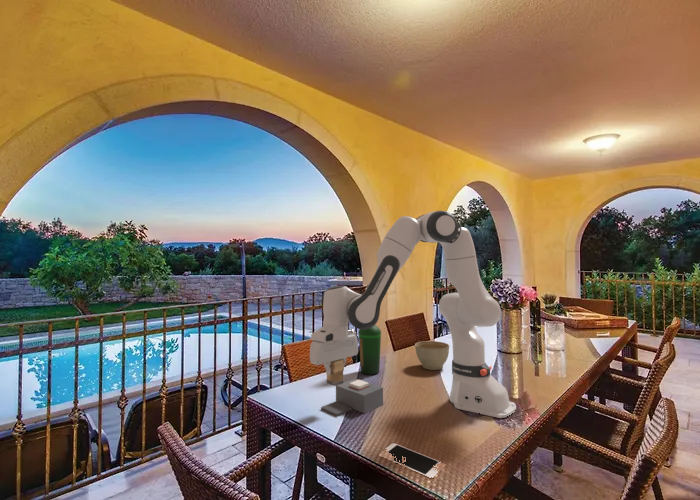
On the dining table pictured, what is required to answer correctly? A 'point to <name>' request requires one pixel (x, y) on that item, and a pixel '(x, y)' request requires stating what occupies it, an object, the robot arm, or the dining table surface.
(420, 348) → the planter bowl
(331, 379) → the tan wooden block
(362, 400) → the block
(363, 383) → the button
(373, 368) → the bottle
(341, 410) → the mat
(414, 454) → the cell phone
